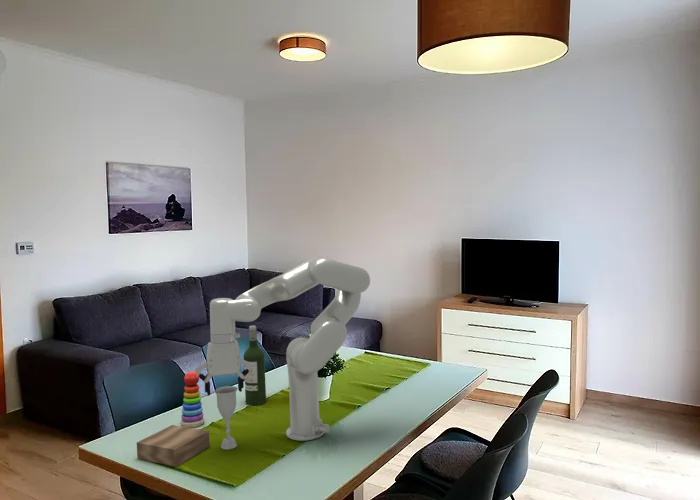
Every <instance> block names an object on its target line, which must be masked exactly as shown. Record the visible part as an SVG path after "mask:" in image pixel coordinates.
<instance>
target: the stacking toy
mask: <svg viewBox="0 0 700 500" xmlns="http://www.w3.org/2000/svg"><path fill="white" fill-rule="evenodd" d="M183 379H184V383H185V384H186V385H185V386H184V388H183V389H184V392H183V400H182V401H183V403H182V410H181V413H182V414H181V416H180V417H181V421H180V424H181V427H187V428H196V427H200V426H202V425H203V424H204V423H205V418H204V412H203V407H202V404H203V403H202V401H201V400H202V397H201V391H200V385H199V384H198V383H199V381H200V378H199V376H198V375H197V373H196V371H195V370H194V371H193V370H191V371H188V372H187V373H186V374H184V378H183Z"/></svg>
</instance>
